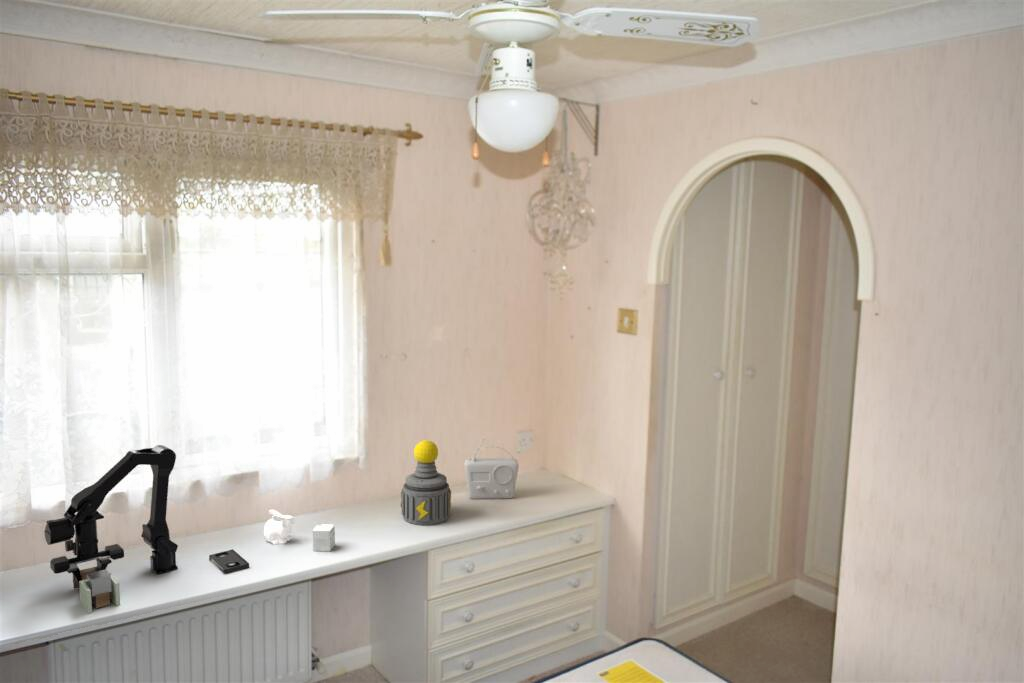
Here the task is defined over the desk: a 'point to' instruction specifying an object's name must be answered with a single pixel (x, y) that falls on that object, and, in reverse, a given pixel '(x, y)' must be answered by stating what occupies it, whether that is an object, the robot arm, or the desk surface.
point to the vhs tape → (228, 561)
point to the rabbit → (278, 528)
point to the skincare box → (323, 537)
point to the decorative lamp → (426, 489)
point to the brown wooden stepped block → (96, 600)
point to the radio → (491, 477)
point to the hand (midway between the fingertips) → (89, 585)
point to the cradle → (86, 594)
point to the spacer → (99, 582)
